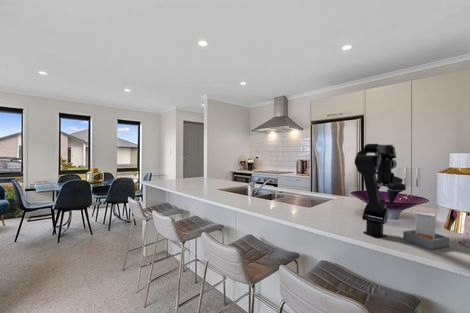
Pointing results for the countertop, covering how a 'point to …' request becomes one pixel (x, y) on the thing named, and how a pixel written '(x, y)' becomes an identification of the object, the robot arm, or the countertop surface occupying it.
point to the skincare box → (425, 225)
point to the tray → (426, 240)
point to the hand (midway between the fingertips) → (383, 202)
